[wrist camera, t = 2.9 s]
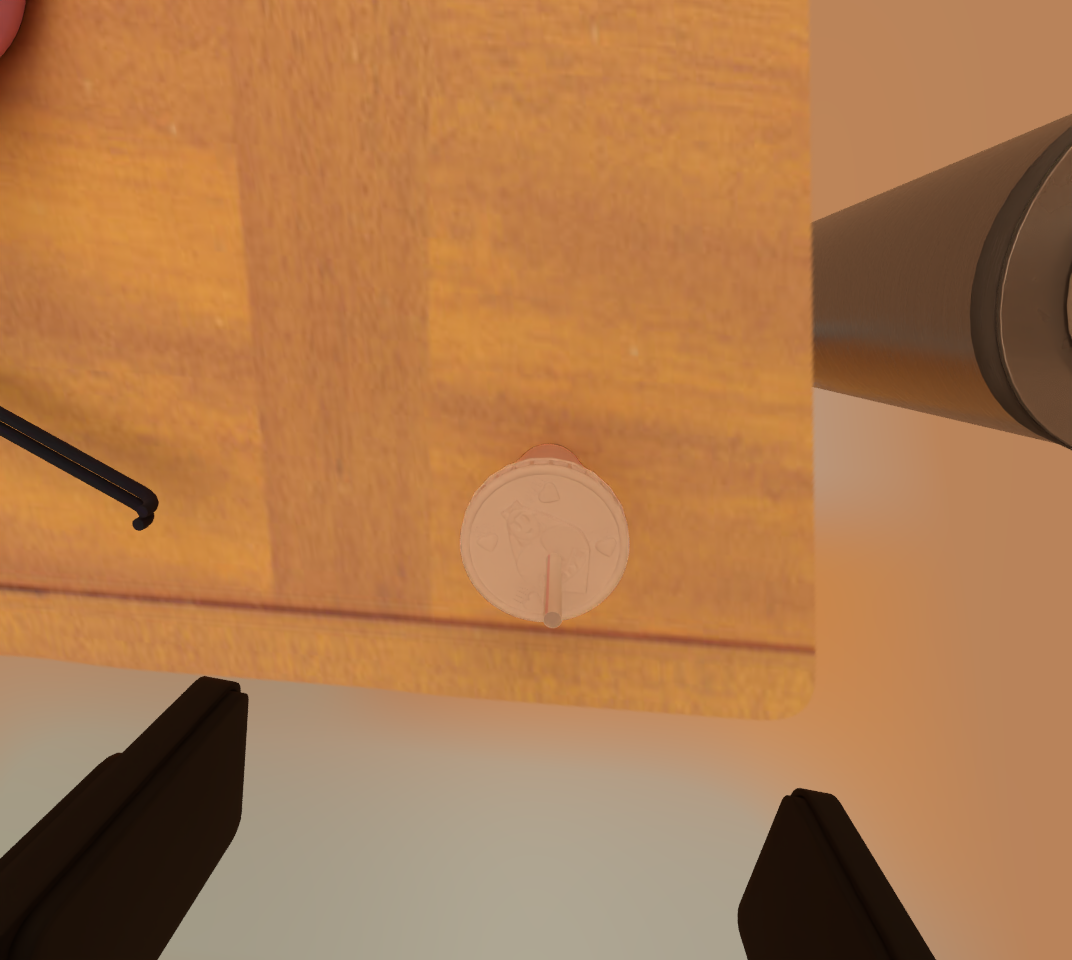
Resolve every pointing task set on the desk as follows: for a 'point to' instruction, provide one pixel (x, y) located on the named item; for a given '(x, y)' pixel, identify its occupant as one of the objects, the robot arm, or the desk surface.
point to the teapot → (10, 21)
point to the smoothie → (545, 537)
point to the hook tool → (141, 505)
